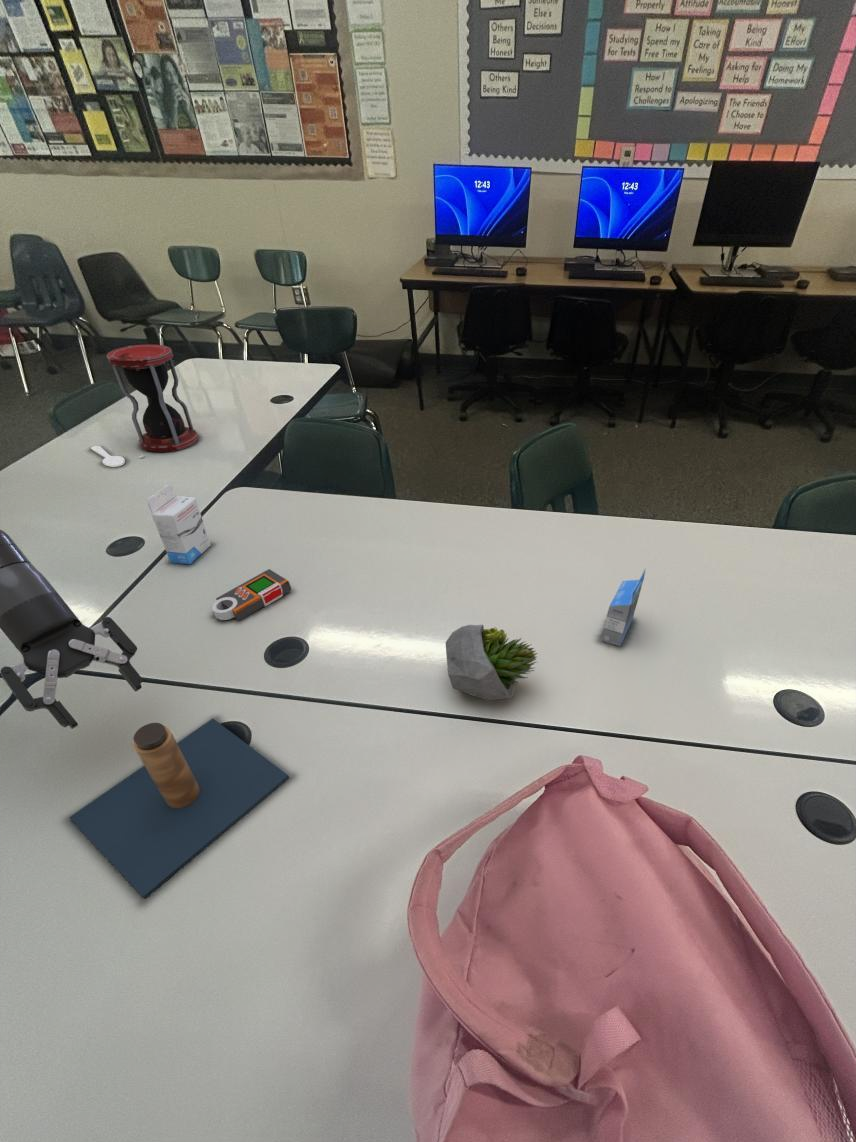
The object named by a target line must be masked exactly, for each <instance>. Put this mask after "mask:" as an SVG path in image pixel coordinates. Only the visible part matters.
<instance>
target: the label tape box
mask: <svg viewBox="0 0 856 1142" xmlns="http://www.w3.org/2000/svg"><path fill="white" fill-rule="evenodd" d="M646 569H647V568H646V567H645V568H644V569H643V571H642V574H641V576H640V578H639V579H633V580H631V579H630V580H622V582H621V583H620V585H619V587H618V589H617V591H616V593H615V595H614V597H613V599H612V601H611V602H610V604H609V607H608V610H607V614H606V618H605V623H604V626H603V631H602V635H601V639H600V640H601V641H602V642H604V643H607V644H609V645H612V646H616V647H621V645H622V644H623V641H624V640H625V637H626V635H627V633H628V631H629V629H630V626H631V624H632V621H633V619H634V616H635V612H636V609H637V605H638V601H639V598H640V595H641V590H642V586H643V582H644V581H645V575H646Z"/></svg>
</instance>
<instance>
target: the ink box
mask: <svg viewBox="0 0 856 1142" xmlns="http://www.w3.org/2000/svg"><path fill="white" fill-rule="evenodd" d="M164 494H165V496H163V495H164ZM161 496H163V497H162V498H161V499H160V497H161ZM158 499H159V500H158ZM146 502H147V505H148V507H149V510H150V513H151V516H152V520H153V522H154V524H155V527H156V529H157V532H158V535H159V537H160V540H161V542H162V545H163V548H164V550H165V552H166V555H167V558H168V559H169V562H170V563H174V564H183V565H191V564H193V562H195V561H196V559H197V558H199V557H200V556H201V555H202V554H203V553H204V552H205V551H206V550H208V549H209V547H211V546H212V544H211V541H210V538H209V535H208V532H207V529H206V526H205V523H204V520H203V516H202V513H201V511H200V507H199V504H198V501H197V499H196V497H194V496H193V497H192V496H185V495H176V492H175V490H174V486H173V484H172V483H171V482H168V484H166V485H165V486H163V487H161V489H159V490H157V492H155V493H154V494H152V495H151V496H149V497H148V498H147V500H146Z"/></svg>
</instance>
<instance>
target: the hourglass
mask: <svg viewBox="0 0 856 1142" xmlns="http://www.w3.org/2000/svg"><path fill="white" fill-rule="evenodd" d="M172 350H173V349H172V348H171V347H169V346H166V345H162V344H138V345H137V344H136V345H128V346H123V347H119V348H116V349H113V350H111V351H108V352H107V354H106V359H107V361H108V363H109V365H111V366H112V369H113V372H114V374H115V377H116V379H117V382H118V386H119V387H120V390H121V392H122V393H123V395H124V396H125V397H127V398H128V399H129V400H130V402H131V403H132V407H133V410H132V413H131V420H132V422H133V425H134V428H135V430H136V434H137V435H138V444H139V446H140V448H141V449H143V450H144V451H146V452H151V453H171V452H175V451H180V450H184V449H186V448H189V447H191V446H193V445H195V444H196V443H197V442H198V441H199V435H198V432H197V431H196V429H194V426H193V423H192V419H191V416H190V414H189V410H188V407H187V405H186V403H185V402H184V401H183V400H181V399H180V397H179V395H178V386H179V378H178V374H177V372H176V371H177V370H176V368H175V365H174V361H173V357H174V353H173V351H172ZM166 362H168V365H169V368H170V369H169V370H170V371H171V374H172V378H173V385H172V387H171V396H172V398H173V400H174V401H175V402H176V403H178V404H180V407H182V410H183V413H184V417H185V420H186V422H187V423H186V424H187V426H185V422H184V419H183V417H182V415H181V414H180V413H179V412H178V411H177V410H176V408H174V407H173V406H172V405H170V404H168V403H167V402H165V398H164V391H165V390H166V388H167V386H168V382H169V372H168V368H167V365H166V364H165V363H166ZM119 367H121V368H122V369H123V373H124V376H125V378H126V380H127V382H128V383H129V384H130V385H131V387H132V388H133V389H135V390H136V391H137V392H139V393H140V394H142V395H143V396H145V397H146V399H147V406H146V409H145V410H144V412H143V415H142V424H143V428H144V430H145V433H144V434H143V432H142V429H141V426H140V424H139V421H138V418H137V416H138V415H137V414H138V411H139V410H140V409H139V402H138V400H137V399H136V397H135V396H134V395H132V394H130V393H129V392H128V390H127V388H126V386H125V384H124V383H125V382H124V381H123V377H122V375H121V372H120V370H119Z"/></svg>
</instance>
